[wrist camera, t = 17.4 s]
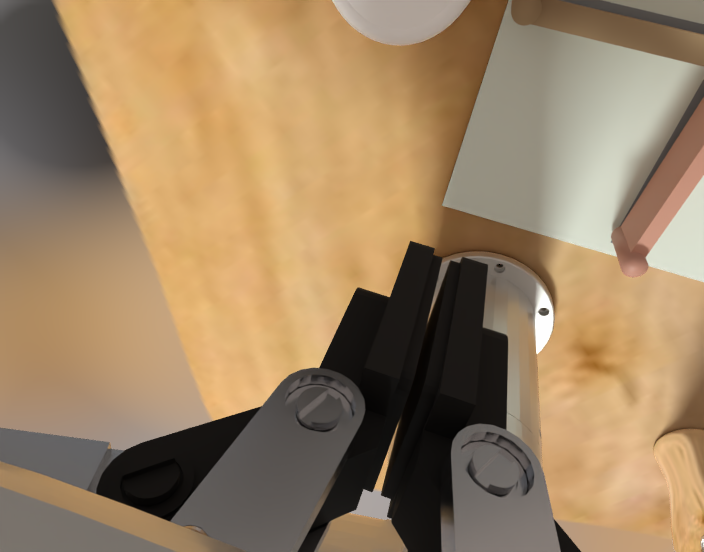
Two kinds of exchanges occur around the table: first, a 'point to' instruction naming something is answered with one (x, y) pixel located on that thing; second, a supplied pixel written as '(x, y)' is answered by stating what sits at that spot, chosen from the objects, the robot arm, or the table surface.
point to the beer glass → (684, 485)
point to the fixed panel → (611, 28)
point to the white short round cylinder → (400, 18)
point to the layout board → (582, 134)
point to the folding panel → (662, 197)
